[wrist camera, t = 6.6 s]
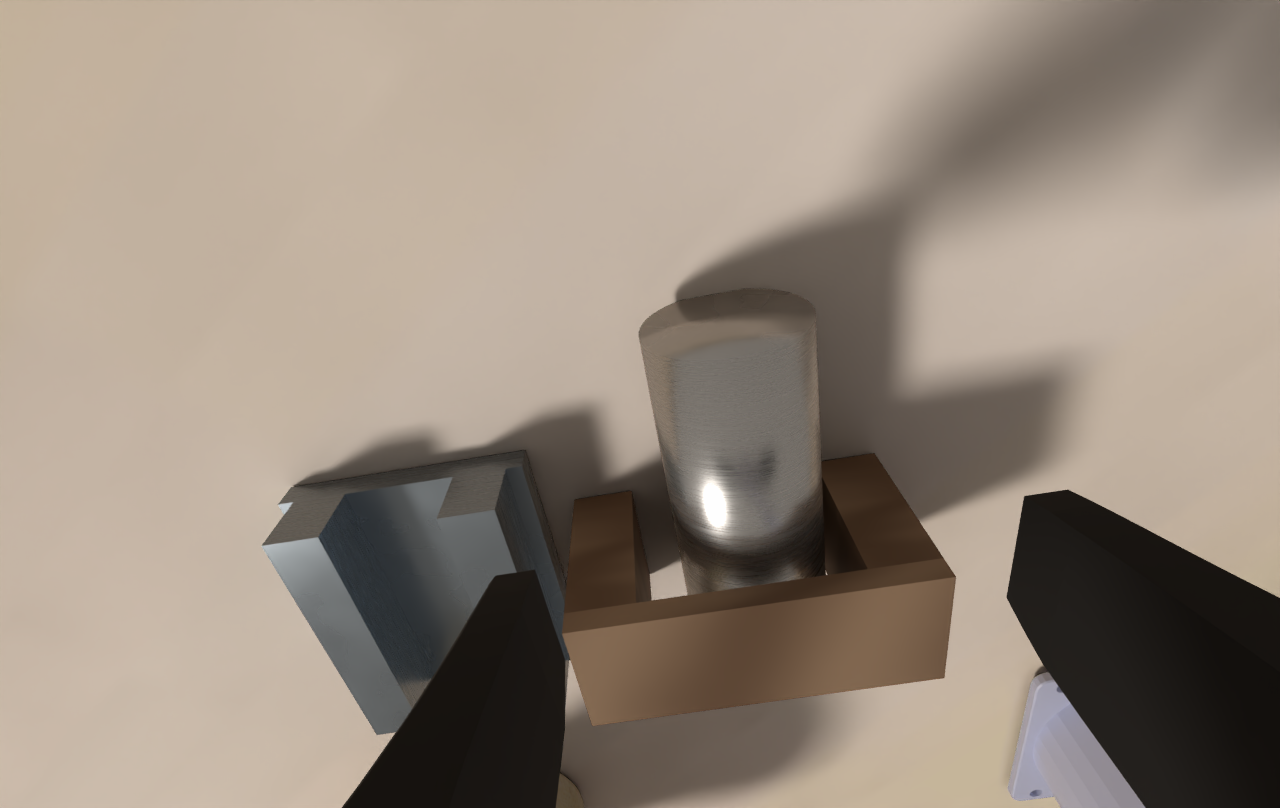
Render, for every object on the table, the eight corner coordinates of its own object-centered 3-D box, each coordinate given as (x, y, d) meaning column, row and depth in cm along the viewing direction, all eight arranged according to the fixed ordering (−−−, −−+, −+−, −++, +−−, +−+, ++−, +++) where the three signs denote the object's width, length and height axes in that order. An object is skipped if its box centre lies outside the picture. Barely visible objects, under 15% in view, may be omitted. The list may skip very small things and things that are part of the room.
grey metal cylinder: (625, 312, 16) (659, 377, 12) (774, 277, 16) (849, 330, 13) (680, 593, 21) (716, 697, 17) (794, 561, 21) (852, 656, 17)
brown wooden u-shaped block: (874, 453, 18) (955, 576, 14) (872, 542, 20) (944, 677, 16) (574, 499, 19) (562, 633, 14) (597, 583, 20) (592, 725, 16)
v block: (525, 449, 18) (512, 507, 15) (582, 638, 22) (579, 707, 19) (291, 487, 18) (244, 548, 16) (389, 666, 22) (363, 736, 20)
